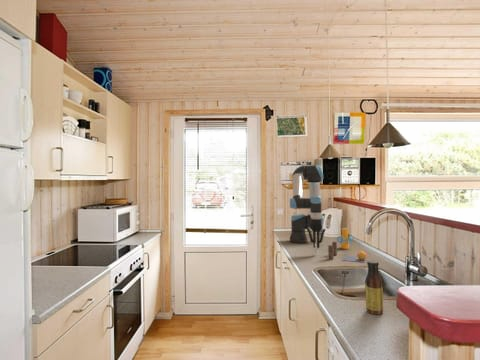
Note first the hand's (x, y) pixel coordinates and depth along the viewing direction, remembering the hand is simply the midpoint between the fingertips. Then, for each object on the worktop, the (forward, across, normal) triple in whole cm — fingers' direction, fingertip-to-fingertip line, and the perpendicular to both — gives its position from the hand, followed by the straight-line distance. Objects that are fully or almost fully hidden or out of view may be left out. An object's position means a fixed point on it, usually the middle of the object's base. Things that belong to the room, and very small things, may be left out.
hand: (316, 252), depth 216 cm
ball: (-1, +29, 0) cm, 29 cm away
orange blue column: (+2, +14, +31) cm, 34 cm away
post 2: (+2, +11, +6) cm, 13 cm away
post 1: (+2, +11, -6) cm, 13 cm away
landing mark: (+2, +25, 0) cm, 25 cm away
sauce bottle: (+2, +43, -83) cm, 94 cm away
